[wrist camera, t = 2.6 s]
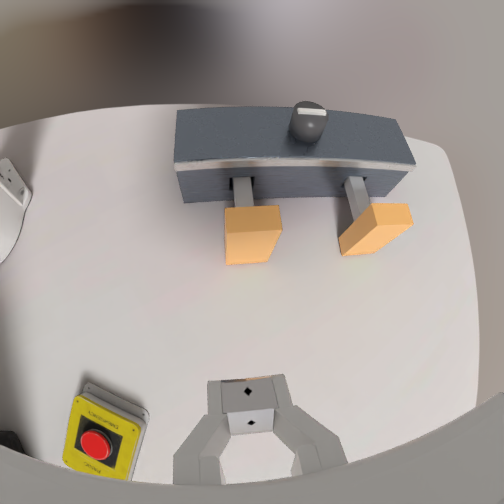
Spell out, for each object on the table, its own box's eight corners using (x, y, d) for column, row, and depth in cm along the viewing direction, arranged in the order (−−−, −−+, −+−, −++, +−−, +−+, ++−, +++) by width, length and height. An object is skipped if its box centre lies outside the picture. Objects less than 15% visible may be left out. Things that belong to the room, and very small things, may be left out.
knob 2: (373, 253, 37) (413, 224, 28) (341, 255, 36) (377, 225, 27) (349, 165, 41) (375, 123, 32) (320, 163, 41) (342, 119, 31)
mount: (385, 199, 41) (417, 166, 32) (184, 205, 37) (173, 163, 28) (370, 155, 43) (395, 119, 34) (184, 156, 40) (177, 110, 31)
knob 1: (267, 261, 35) (282, 229, 26) (226, 264, 35) (226, 233, 25) (254, 164, 40) (262, 115, 30) (219, 165, 39) (219, 115, 30)
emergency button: (142, 419, 25) (118, 510, 20) (152, 410, 29) (128, 496, 24) (71, 382, 25) (54, 475, 20) (87, 379, 29) (69, 466, 24)
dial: (325, 143, 31) (333, 124, 28) (292, 142, 30) (298, 122, 27) (317, 119, 32) (324, 100, 29) (286, 117, 32) (291, 97, 28)
